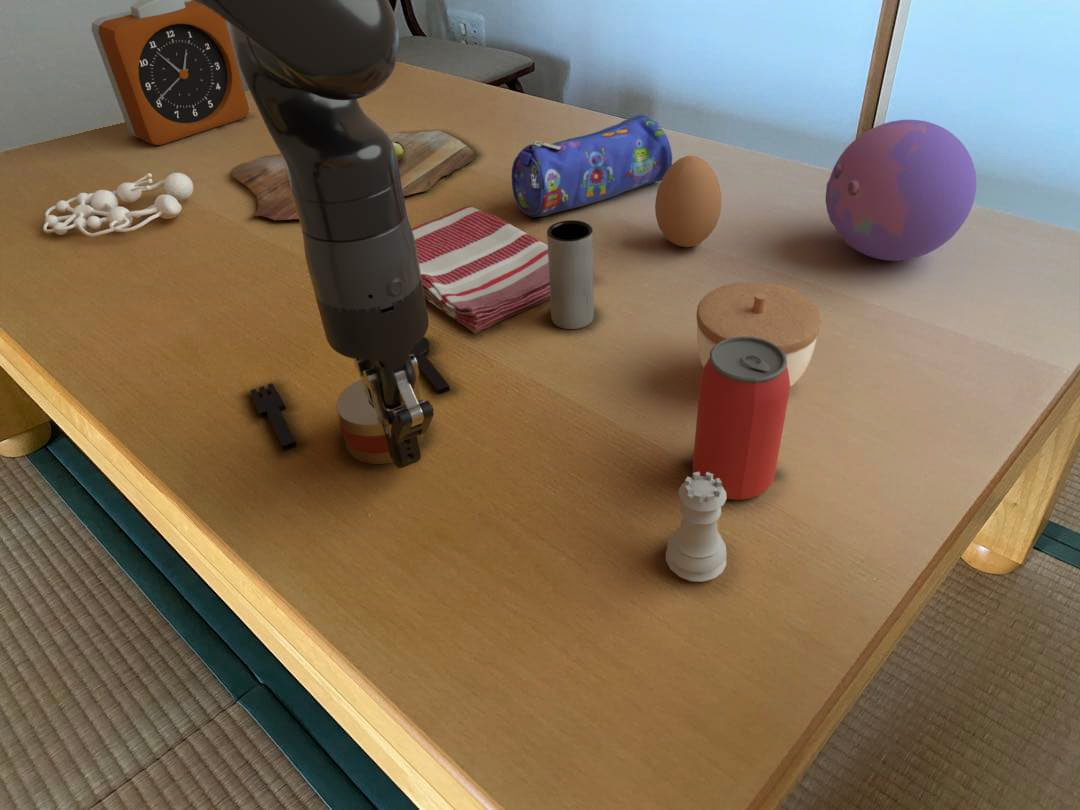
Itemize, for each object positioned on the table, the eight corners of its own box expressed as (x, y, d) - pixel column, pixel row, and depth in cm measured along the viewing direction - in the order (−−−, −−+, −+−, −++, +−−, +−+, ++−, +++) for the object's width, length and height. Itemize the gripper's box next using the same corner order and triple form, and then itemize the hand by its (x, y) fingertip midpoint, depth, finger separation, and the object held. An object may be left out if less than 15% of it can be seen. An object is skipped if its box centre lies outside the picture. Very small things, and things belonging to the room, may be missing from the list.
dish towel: (476, 337, 85) (473, 315, 84) (363, 259, 100) (359, 239, 98) (595, 279, 93) (595, 258, 92) (474, 215, 108) (472, 196, 106)
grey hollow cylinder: (560, 304, 90) (556, 217, 83) (599, 310, 88) (599, 223, 82) (544, 325, 86) (539, 237, 80) (585, 333, 85) (583, 243, 78)
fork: (303, 443, 73) (302, 438, 73) (277, 453, 72) (275, 448, 72) (275, 387, 80) (273, 382, 80) (250, 395, 79) (248, 390, 79)
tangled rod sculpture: (29, 258, 107) (13, 230, 104) (67, 202, 118) (53, 176, 115) (177, 242, 107) (165, 214, 104) (201, 188, 118) (191, 161, 115)
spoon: (462, 385, 79) (461, 379, 78) (426, 399, 78) (425, 393, 77) (421, 336, 86) (421, 331, 86) (388, 348, 85) (386, 342, 84)
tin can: (398, 473, 70) (389, 433, 67) (330, 453, 72) (318, 413, 69) (439, 423, 75) (433, 384, 72) (374, 405, 77) (366, 367, 74)
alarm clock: (153, 149, 133) (104, 12, 120) (129, 137, 138) (80, 5, 125) (253, 116, 143) (218, -13, 130) (227, 106, 148) (191, -19, 135)
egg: (730, 247, 98) (740, 159, 91) (680, 266, 95) (686, 176, 88) (689, 224, 103) (695, 139, 96) (640, 241, 100) (643, 155, 93)
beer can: (733, 516, 64) (751, 395, 56) (675, 471, 68) (683, 353, 61) (790, 479, 67) (814, 359, 59) (730, 438, 71) (745, 321, 64)
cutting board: (266, 238, 106) (258, 210, 103) (218, 170, 125) (210, 145, 122) (505, 172, 118) (502, 146, 116) (428, 119, 137) (425, 96, 135)
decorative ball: (793, 234, 99) (813, 110, 90) (904, 215, 102) (934, 92, 92) (861, 295, 88) (891, 160, 79) (984, 272, 90) (1028, 138, 81)
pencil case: (535, 231, 103) (531, 158, 97) (504, 207, 109) (498, 137, 103) (677, 188, 111) (681, 118, 105) (640, 168, 117) (642, 100, 111)
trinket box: (782, 343, 82) (796, 259, 76) (827, 409, 73) (846, 321, 68) (678, 356, 81) (683, 272, 75) (711, 425, 73) (720, 337, 67)
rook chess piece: (653, 565, 60) (657, 488, 55) (686, 530, 63) (693, 453, 58) (705, 596, 58) (714, 518, 53) (737, 558, 61) (749, 480, 56)
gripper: (289, 255, 61) (339, 432, 72) (345, 337, 52) (392, 527, 62) (384, 228, 64) (418, 403, 74) (453, 302, 54) (480, 490, 65)
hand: (406, 460), depth 68 cm, fingers closed
